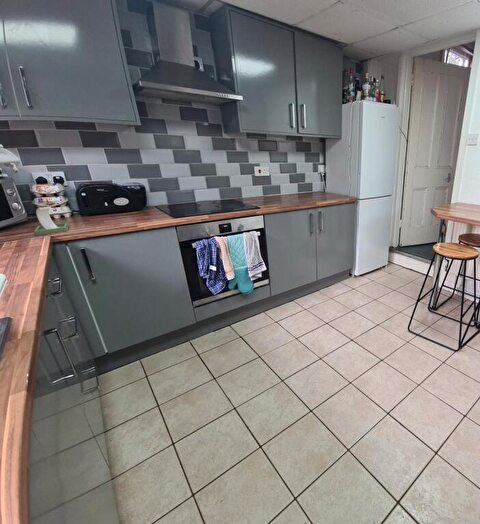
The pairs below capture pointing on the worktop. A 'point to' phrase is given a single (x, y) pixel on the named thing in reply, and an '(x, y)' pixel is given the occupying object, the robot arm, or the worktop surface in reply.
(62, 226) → the tray
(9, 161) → the robot arm
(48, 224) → the light grey curved piece
